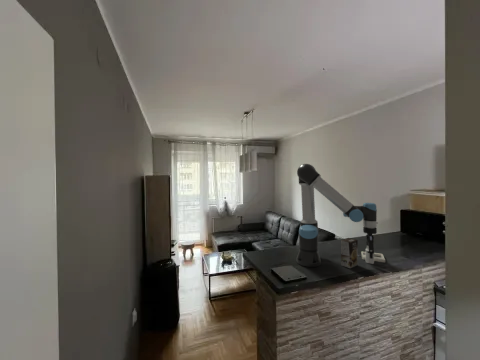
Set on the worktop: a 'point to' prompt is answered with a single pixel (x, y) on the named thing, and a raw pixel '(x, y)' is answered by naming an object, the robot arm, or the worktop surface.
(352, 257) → the coffee box
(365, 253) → the outlet plate
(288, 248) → the worktop surface
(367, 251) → the charger
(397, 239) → the worktop surface
